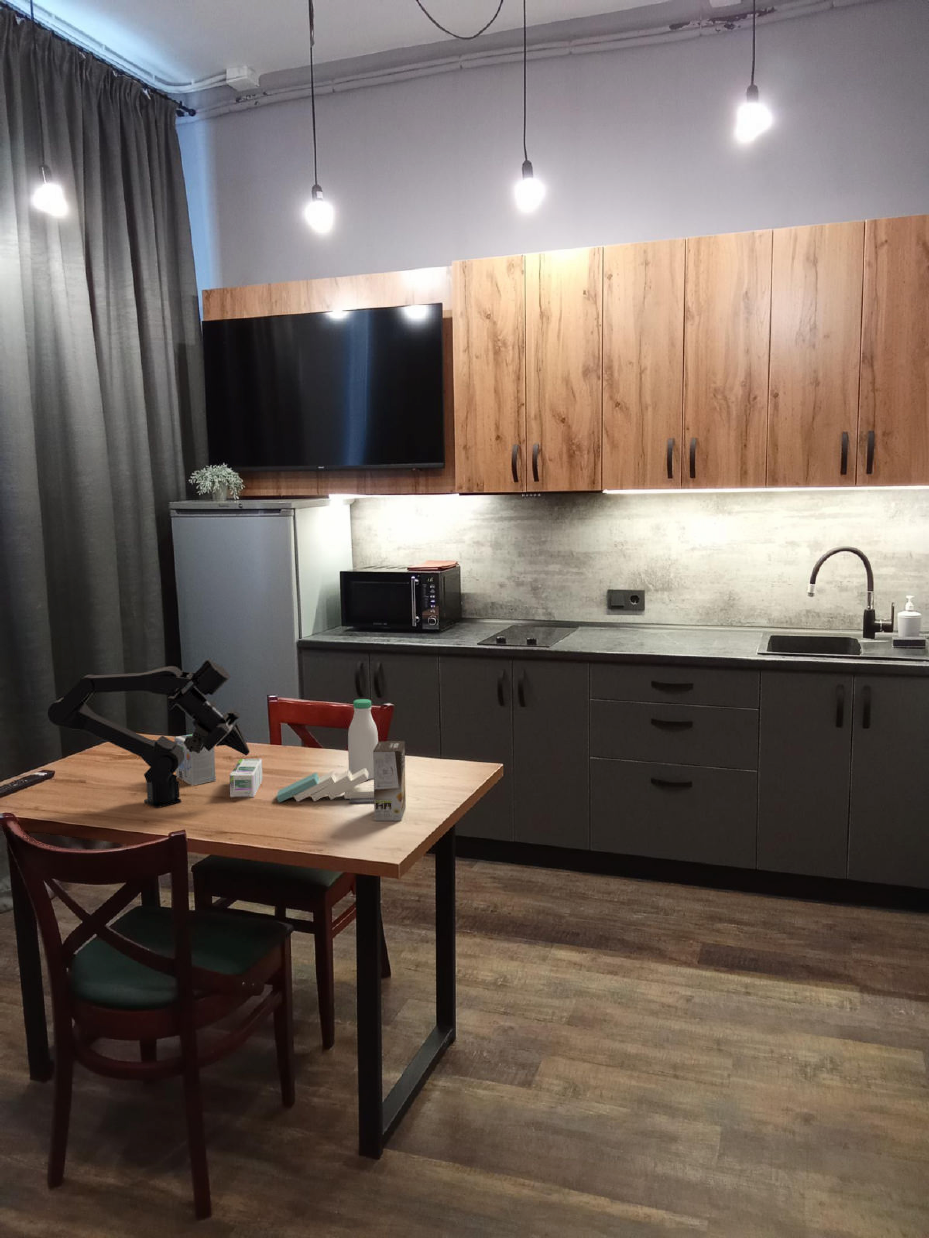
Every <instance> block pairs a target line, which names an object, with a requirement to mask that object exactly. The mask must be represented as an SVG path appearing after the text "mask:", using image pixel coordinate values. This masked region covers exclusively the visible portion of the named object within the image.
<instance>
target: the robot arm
mask: <svg viewBox="0 0 929 1238" xmlns="http://www.w3.org/2000/svg"><path fill="white" fill-rule="evenodd" d="M230 678H231V676H230V674H229V673H228V671H226V669H225V668H224V667H223V666H222V665H219V664H218V663H216V662H213V661H212V660H211V659H210V658H208V659H206V661H204V662H203V663H202V665H201V666H200V668H198V669H197V670H196V671H195V672H190V671H183V670H181V669H180V668H179V667H177V666H173V665H170V666H165V667H161V668H157V669H153V670H149V671H145V672H138V673H137V672H133V673H119V674H118V673H115V674H114V673H113V674H97V675H96V674H87V675H85V676H84V677H82V678H80V679H79V680H78V681H77V683H76V684H75V685H74V687H72V688H71V690H69V691H68V693H67V694H66V695H65V696H63V697H62V698H60V699H58V700H56V701H55V702H53V703H51V705H50V706H49V707H48V710H47V716H48V719H49V720H48V721H49V722H50V723H51V724H53V725H54V726H57V727H61V728H65V729H69V730H76V731H83V732H86V733H89V734H90V735H92V736H95V737H97V738H99V739H101V740H103V741H106V742H108V743H110V744H112V745H114V746H116V747H118V748H121V749H123V750H125V751H128V752H129V753H131V754H134V755H136V756H138V757H140V758H141V759H142V760H143V762H145V764H147V765H148V766H149V769H148V770H146V772H145V773H144V774H143V777H144V778H145V781H146V782H145V783H146V796H147V797H146V799H144V801H143V802H144V803H145V804H147V805H148V806H152V807H154V808H161V807H164V806H165V807H166V806H170V805H173V804H179V803H181V802H182V799H181V798H180V796H181V795H180V781H179V780H178V777H177V775H176V774H174V773H176V769H177V768H178V767H179V766H180V765H181V763H182V762H183V760H184V752H183V749H182V748H181V747H180V746H179V745H176V744H177V743H178V742H175V740H170V739H169V738H168V737H166V736H165V735H161V736H160V737H159V738H158V739H150V738H147V737H145V736H144V735H141V734H139V733H137V732H135V731H132V730H131V729H129V728H126V727H124V726H122V725H119V724H118V723H116V722H113V721H111V720H110V719H109V720H108V719H107V718H104V717H102V716H101V715H98V714H96V713H95V712H94V711H93V710H92V709H91V708H90V707H89V706H88V705H87V704H86V702H88V700H89V699H90V697H91V696H92V695H93V694H98V693H117V692H118V693H119V692H137V691H140V692H141V691H142V692H147V693H150V694H157V695H163V696H164V695H166V696H167V695H171V694H174V693H175V692H176V691H177V690H178V689H180V690H179V691H178V692H177V693H176V694H175V695H174V696H172V695H171V696H168V697H167V703H168V705H167V709H168V710H170V711H171V710H172V709H173V708H174V707H175V706H178V707H179V708H180V709H181V710H182V711H183V712H184V713H185V714H186V715H187V716H189V718H191V720H193V721H192V722H191V723H192V726H193V727H195V729H194V731H193V733H192V736H187V737H186V739H185V741H184V744H185V746H186V747H187V748H186V749H188V750H189V752H192V751H194V752H196V753H200V751H202V749H203V747H205V748H206V749H207V750H208V751H210V750H211V749H212V748H213V747H214V748H215V747H220V746H227V747H229V748H230V749H233V750H235V751H237V752H238V753H240V754H242V755H244V756H248V755H249V754H250V749H249V746H248V744H247V741H246V739H245V737H244V735H243V732H242V730H241V726H240V723H239V721H238V722H236V723H235V721H236V720H238V719H239V718H240V717H241V715H242V714H240V713H239V712H238V711H237V710H236V709H230V710H228V712H225V713H223V712H222V711H221V710H220V709H219V708H218V707H217V706H216V705H217V703H216V702H215V701H214V700H212V701H210V700H209V699H208V698H207V697H206V696H207V695H210V696H214V694H216V693H217V692H218V691H219V690H220V689H221V688H222V686H224V685H225V684H226V683H228V681H229V680H230ZM191 683H193V684H192V685H190V684H191ZM188 685H190V687H189V688H188V689H186V687H187V686H188ZM234 723H235V724H234ZM233 724H234V725H233Z"/></svg>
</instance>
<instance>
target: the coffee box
mask: <svg viewBox="0 0 929 1238" xmlns="http://www.w3.org/2000/svg"><path fill="white" fill-rule="evenodd" d="M405 745H406V743H405V740H387V741H384V740H383V741H378V743H377V745H376V747H375V749H374V750H373V760H374V778H373V785H374V803H373V809H374V813H373V814H374V820H373V821H377V822H378V821H380V822H383V821H384V822H385V821H389V822H390V821H391V822H392V821H394V822H395V821H397V822H400V821H402V820H403V817H404V813H405V811H406V806H407V805H406V803H407V800H406V799H407V798H406V746H405Z"/></svg>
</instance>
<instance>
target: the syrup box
mask: <svg viewBox="0 0 929 1238" xmlns="http://www.w3.org/2000/svg"><path fill="white" fill-rule="evenodd" d="M262 781H263V760H262V758H239V759H238V761H237V763H236V764H235V766H234V768H233V770H231V772H230V774H229V796H230V798H254V797H255V796H256V793H257V791H258V790H259V788H260V785H261V783H262Z"/></svg>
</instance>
